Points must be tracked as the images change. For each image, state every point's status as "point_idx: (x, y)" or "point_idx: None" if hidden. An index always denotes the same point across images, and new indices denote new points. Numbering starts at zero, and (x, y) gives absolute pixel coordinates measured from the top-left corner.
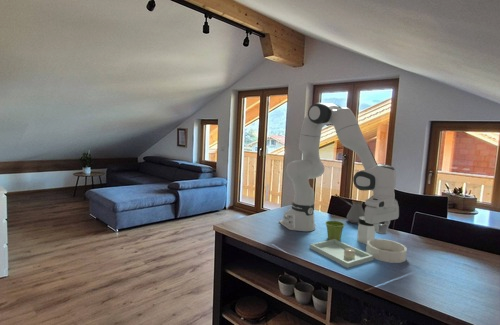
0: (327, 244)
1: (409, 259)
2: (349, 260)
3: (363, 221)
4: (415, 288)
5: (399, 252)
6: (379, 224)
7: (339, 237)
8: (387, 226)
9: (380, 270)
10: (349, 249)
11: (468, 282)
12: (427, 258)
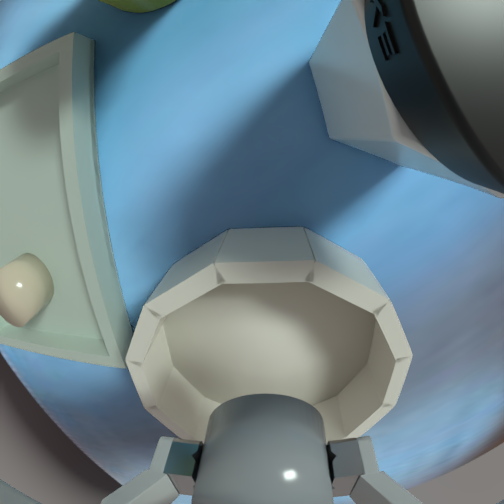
0: (23, 77)
1: None
2: None
3: (398, 39)
4: (147, 469)
5: None
6: (257, 499)
7: (139, 2)
8: (349, 493)
9: (114, 398)
10: (7, 293)
11: None
12: (425, 409)
